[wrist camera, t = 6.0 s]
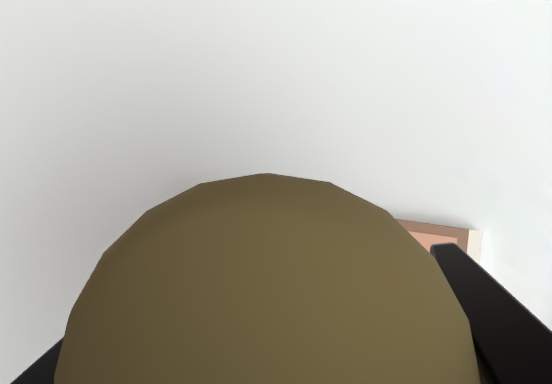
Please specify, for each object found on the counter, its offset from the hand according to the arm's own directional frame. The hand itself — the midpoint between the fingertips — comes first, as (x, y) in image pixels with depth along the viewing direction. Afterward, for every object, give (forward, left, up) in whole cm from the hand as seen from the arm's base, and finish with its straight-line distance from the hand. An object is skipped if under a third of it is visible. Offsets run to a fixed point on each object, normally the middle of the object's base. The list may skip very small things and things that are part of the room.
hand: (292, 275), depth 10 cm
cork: (-1, 0, -7) cm, 7 cm away
